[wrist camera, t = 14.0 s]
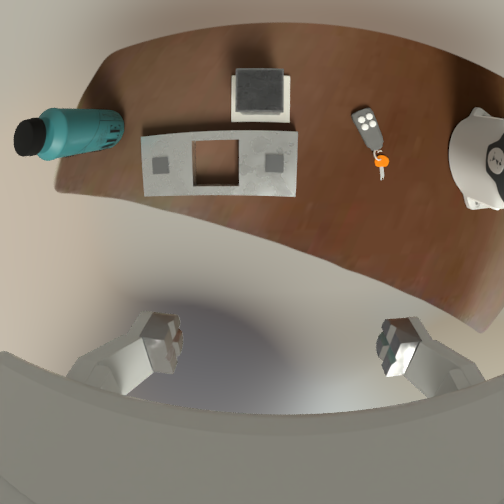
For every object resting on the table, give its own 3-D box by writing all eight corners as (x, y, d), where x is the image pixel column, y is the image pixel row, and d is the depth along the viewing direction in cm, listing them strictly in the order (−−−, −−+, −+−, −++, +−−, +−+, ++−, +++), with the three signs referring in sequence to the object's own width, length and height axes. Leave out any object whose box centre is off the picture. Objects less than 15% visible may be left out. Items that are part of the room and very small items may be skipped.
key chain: (347, 115, 34) (350, 114, 33) (368, 106, 33) (371, 105, 32) (381, 193, 38) (384, 195, 37) (400, 184, 37) (404, 186, 36)
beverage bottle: (99, 110, 35) (7, 112, 16) (133, 108, 35) (42, 102, 16) (96, 149, 37) (5, 170, 19) (129, 149, 37) (39, 169, 19)
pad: (289, 76, 32) (289, 75, 32) (289, 122, 35) (289, 122, 34) (232, 76, 32) (231, 75, 32) (231, 122, 35) (231, 121, 35)
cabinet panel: (296, 132, 35) (298, 131, 33) (294, 193, 39) (295, 197, 37) (146, 136, 36) (140, 137, 34) (149, 193, 40) (143, 196, 38)
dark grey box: (281, 80, 32) (283, 68, 26) (280, 116, 34) (283, 112, 28) (241, 80, 32) (235, 68, 26) (241, 116, 34) (235, 111, 28)
